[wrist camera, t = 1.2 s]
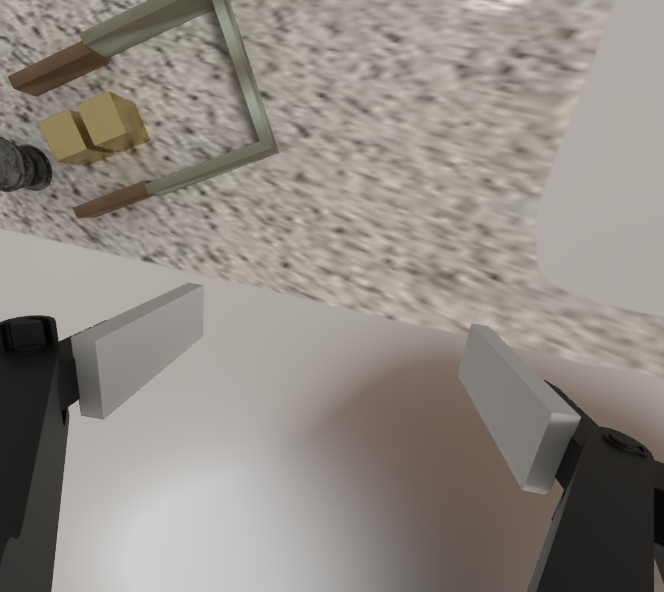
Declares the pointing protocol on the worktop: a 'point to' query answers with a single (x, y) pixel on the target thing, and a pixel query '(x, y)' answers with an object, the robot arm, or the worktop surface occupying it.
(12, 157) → the salt shaker
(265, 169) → the worktop surface
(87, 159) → the tan wooden cube
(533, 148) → the worktop surface
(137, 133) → the chip
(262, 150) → the frame
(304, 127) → the worktop surface
